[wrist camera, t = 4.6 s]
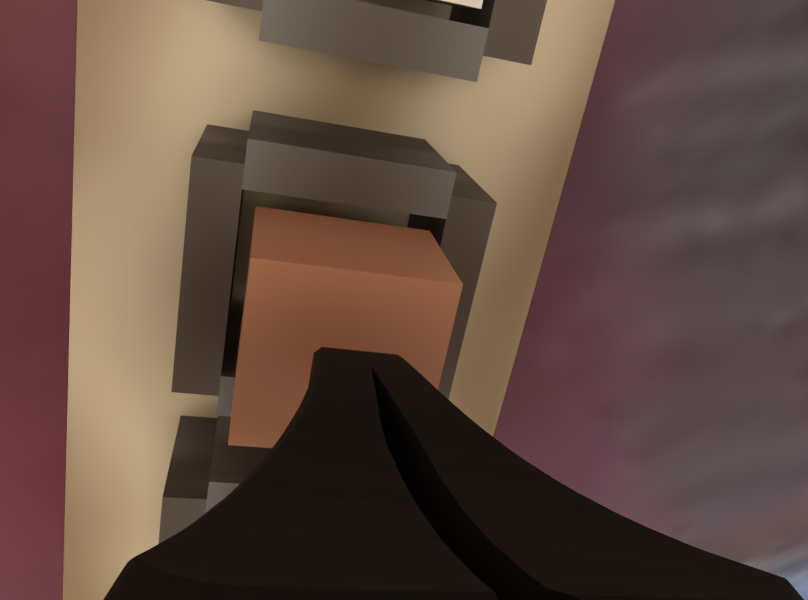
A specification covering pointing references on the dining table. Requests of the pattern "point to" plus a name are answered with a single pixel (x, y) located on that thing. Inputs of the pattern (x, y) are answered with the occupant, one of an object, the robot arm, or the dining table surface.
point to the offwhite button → (461, 3)
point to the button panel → (293, 191)
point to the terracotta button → (333, 309)
